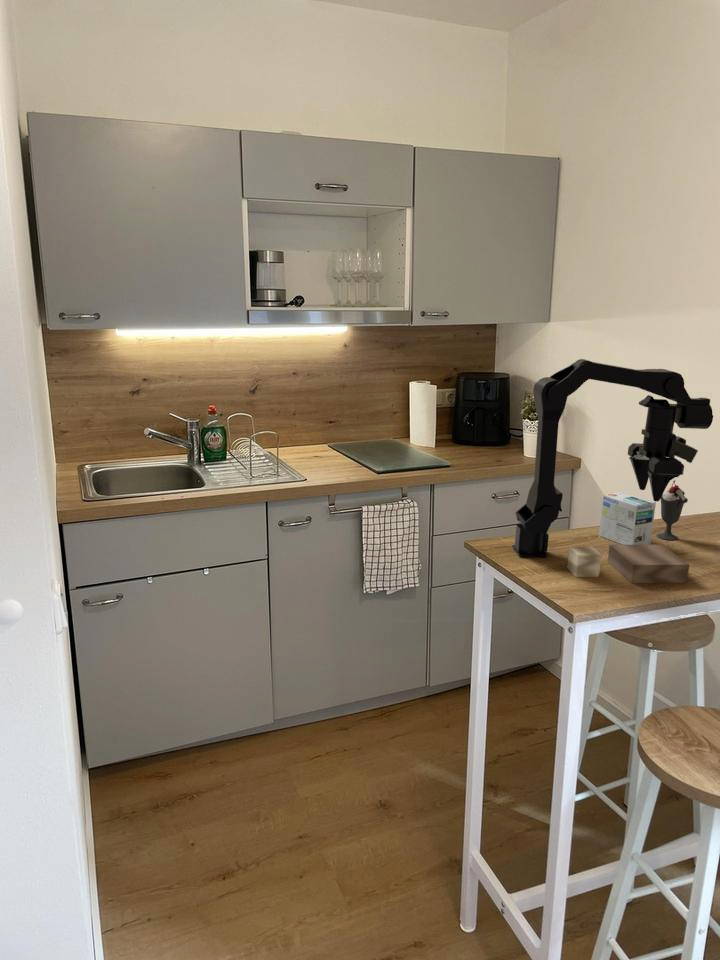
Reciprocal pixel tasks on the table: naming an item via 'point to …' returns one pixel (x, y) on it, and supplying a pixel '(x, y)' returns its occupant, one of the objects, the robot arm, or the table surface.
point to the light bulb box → (627, 519)
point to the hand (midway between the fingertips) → (649, 495)
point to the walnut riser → (648, 564)
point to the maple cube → (584, 561)
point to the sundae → (671, 510)
